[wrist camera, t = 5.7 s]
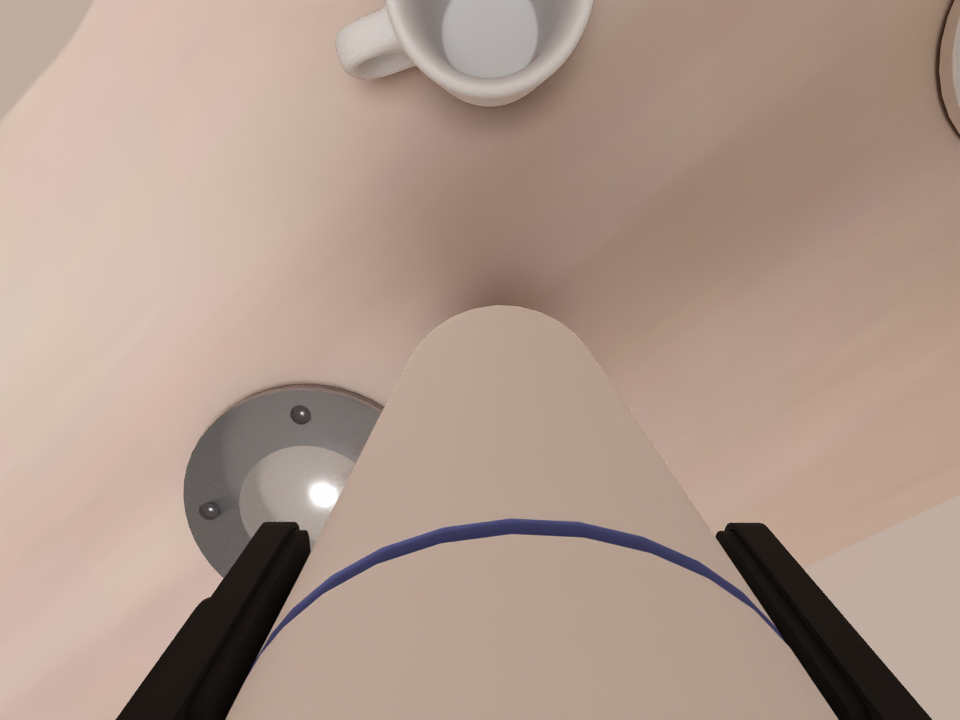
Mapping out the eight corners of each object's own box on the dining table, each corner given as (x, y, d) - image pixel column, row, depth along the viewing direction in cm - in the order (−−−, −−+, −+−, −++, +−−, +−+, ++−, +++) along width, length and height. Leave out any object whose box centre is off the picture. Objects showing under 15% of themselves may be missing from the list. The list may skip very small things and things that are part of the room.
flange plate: (436, 383, 33) (434, 390, 32) (444, 604, 37) (442, 618, 36) (174, 384, 33) (162, 391, 32) (213, 603, 38) (204, 617, 37)
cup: (390, 160, 30) (354, 147, 22) (336, -1, 27) (276, -79, 20) (585, 95, 28) (620, 57, 21) (545, -78, 26) (567, -192, 19)
